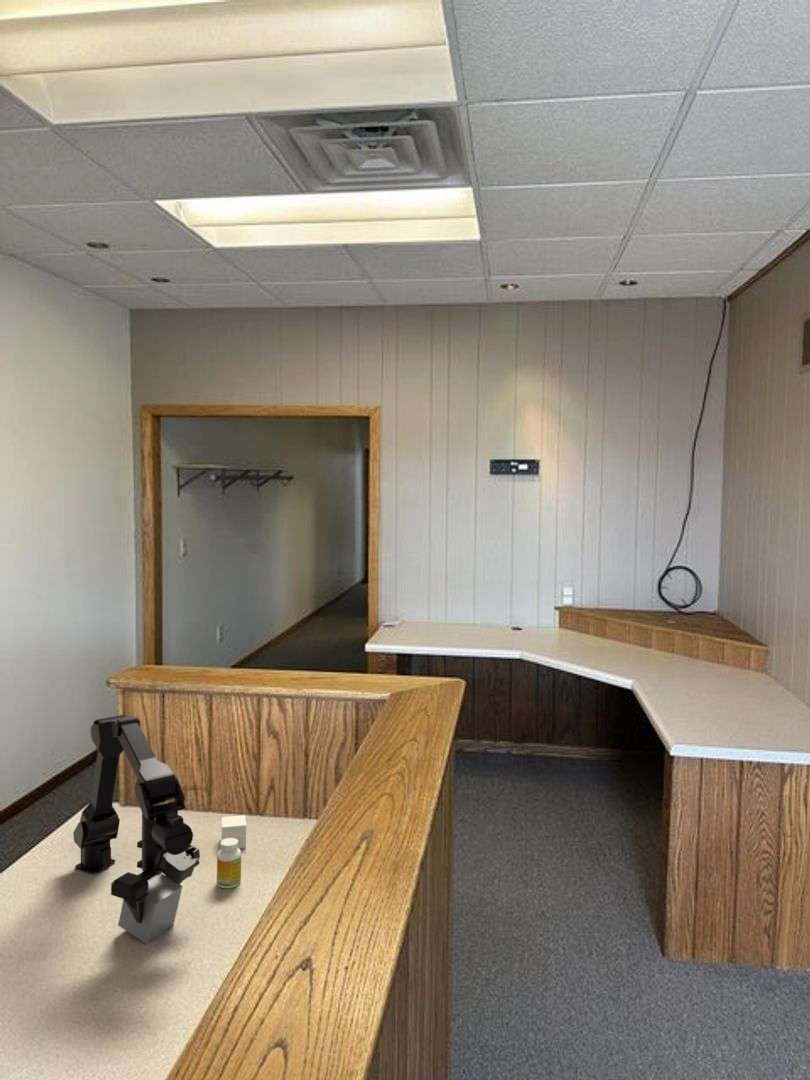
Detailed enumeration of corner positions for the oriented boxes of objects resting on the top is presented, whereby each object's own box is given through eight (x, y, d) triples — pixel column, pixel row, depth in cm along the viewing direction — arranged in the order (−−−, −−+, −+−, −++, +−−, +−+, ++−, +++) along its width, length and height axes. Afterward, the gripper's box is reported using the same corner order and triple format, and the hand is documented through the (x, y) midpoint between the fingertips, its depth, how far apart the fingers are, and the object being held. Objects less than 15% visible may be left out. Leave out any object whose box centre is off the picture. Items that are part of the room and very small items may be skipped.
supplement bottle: (234, 890, 162) (235, 848, 162) (212, 887, 163) (213, 845, 163) (244, 878, 168) (245, 837, 167) (223, 875, 169) (223, 835, 168)
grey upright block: (118, 925, 145) (126, 886, 144) (146, 906, 152) (154, 869, 151) (146, 944, 142) (155, 904, 141) (173, 924, 149) (182, 886, 148)
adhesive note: (246, 848, 182) (246, 825, 182) (221, 850, 181) (221, 827, 181) (245, 837, 188) (245, 815, 188) (221, 839, 187) (221, 817, 186)
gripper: (153, 865, 133) (153, 947, 134) (219, 825, 150) (218, 898, 151) (109, 852, 138) (108, 931, 138) (177, 814, 155) (176, 885, 155)
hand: (156, 910), depth 146 cm, fingers open, 9 cm apart
